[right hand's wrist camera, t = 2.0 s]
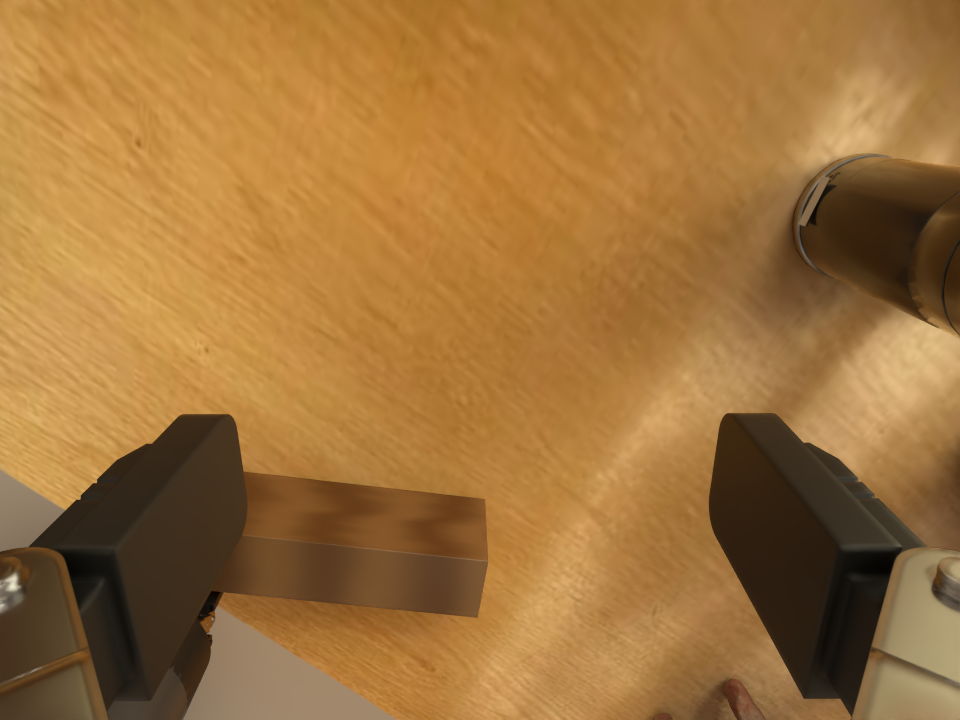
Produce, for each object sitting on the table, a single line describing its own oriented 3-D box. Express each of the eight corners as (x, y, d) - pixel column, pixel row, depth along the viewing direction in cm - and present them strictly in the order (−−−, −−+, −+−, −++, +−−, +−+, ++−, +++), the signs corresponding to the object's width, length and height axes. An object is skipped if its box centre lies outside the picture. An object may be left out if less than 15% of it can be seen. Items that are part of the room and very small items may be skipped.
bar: (484, 499, 60) (488, 561, 52) (475, 550, 62) (477, 618, 54) (201, 466, 58) (158, 526, 50) (201, 520, 60) (160, 586, 52)
